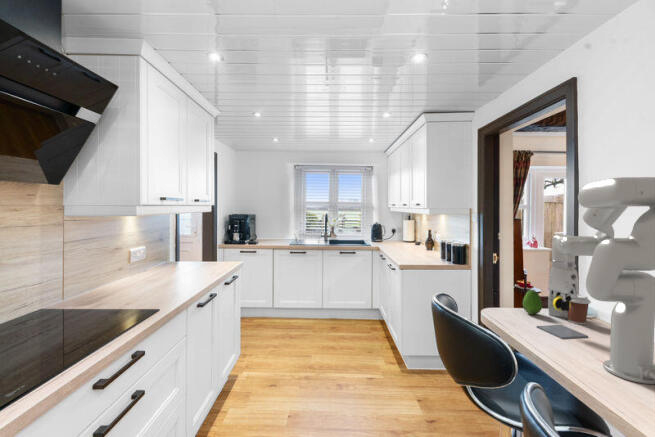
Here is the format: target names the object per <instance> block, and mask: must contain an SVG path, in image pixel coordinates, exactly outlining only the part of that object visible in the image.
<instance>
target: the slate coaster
mask: <svg viewBox="0 0 655 437" xmlns="http://www.w3.org/2000/svg"><path fill="white" fill-rule="evenodd" d="M536 328H537V329H539V330H541V331H544V332H546V333H548V334H550V335H553V336H554V337H557V338H559V339H561V340H563V339H579V338H580V339H582V338H584V339H585V338H588V337H589V335H587V334H585V333H582V332H580V331H577V330H575V329H572V328H570V327H568V326H565V325H563V324H552V325H549V324H548V325H536Z"/></svg>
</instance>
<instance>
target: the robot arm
mask: <svg viewBox="0 0 655 437" xmlns="http://www.w3.org/2000/svg"><path fill="white" fill-rule="evenodd" d="M577 200H578V201H577V202H578V203H579V205H580V206H581V207H583V208H585V209H586V210H585V212H584V213H583V215H582V220H583V221H584V223H585V224H586V225H587V226H588V227H590V228H592V229H593V230H597V231H596V233H595V234H594V235H591V236H590V235H589V236H588V235H587V236H586V235H584V236H583V235H577V236H576V235H574V236H573V235H571V234H570V235H569V234H555V235H553V236H552V245H551V247H552V248H551V266H550V269H549V273H548V274H549V275H548V287H547V290H548V292H549V291H550V292H551V293H552V294H553V298H556V297H558V296H559V295H560V296H561V294H562V293H563V301H562V299H561V298H560V299H558V300H557V301H556V304H555V305H556V308H561V310H562V311H569V302H570V301H571V300H572V299H574V298H578V296H577V294H579V289H580V288H579V284H580V283H579V276H578V271H577V269H575V268H576V267H577V265H576V257H577V256H578V257H580V256H583V257H586V256H587V257H591V258H592V259H591V260H590V265H589V267H588V271H587V275H586V278H585V288H586V291H587V294H588V295H589V297H591V298H592V299H594V300H597V301H599V302H608V303H611V302H613V303H615V304H614V306H613V309H612V310H611V315H610V316H611V318H610V341H609V342H610V344H609V359H608V360H605V361H603V363H602V365H603V366H602V367H603V369H605V370H606V371H607V372H608V373H610V374H612V375H614V376H617V377H618V378H621V379H625V380H627V381H631V382H636V383H639V384H648V385H655V364H654V358H655V357H654V355H655V353H654V352H655V276H654V275H652V274H651V273H649V272H650V271H651V272H652V271H655V176H647V177H646V176H641V177H640V176H639V177H638V176H637V177H630V176H629V177H625V176H623V177H612V178H608V179H602V180H599V181H598V180H597V181H593V182H588V183H587V184H585V185H584V186H583V187H581V189H580V190H579V192H578V195H577ZM629 207H649V209H647V210H646V211H644V213H642V214H641V215H640V216H639V217H638V218H637V219H636V221H635V222H634V223H633V226H632V230H631V233H630V235H629V236H627V237H615V229H614V227H613V224H615V223H616V222H617V220H618V219H619V218H620V217H621V215H622V214H623V213H624V212H625V211H626V210H627V209H628V208H629ZM645 271H646V272H645ZM648 271H649V272H648ZM566 295H567V297H566Z"/></svg>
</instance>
